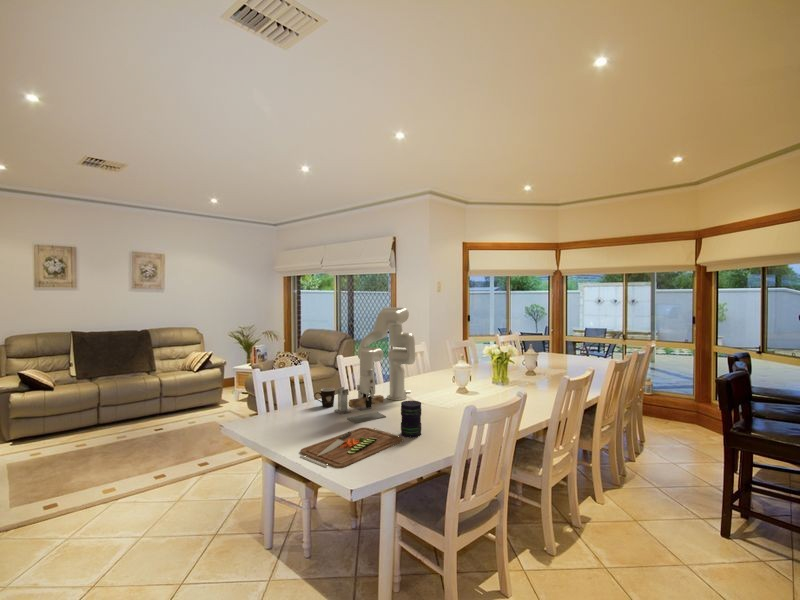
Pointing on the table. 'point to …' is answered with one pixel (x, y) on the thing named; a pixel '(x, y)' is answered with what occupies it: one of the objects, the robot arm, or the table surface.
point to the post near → (342, 400)
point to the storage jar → (411, 419)
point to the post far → (361, 397)
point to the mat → (366, 417)
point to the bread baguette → (362, 401)
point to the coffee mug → (327, 397)
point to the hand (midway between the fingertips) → (366, 406)
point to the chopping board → (350, 447)
